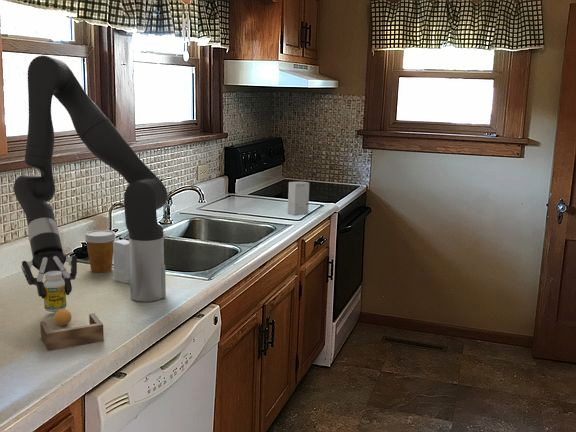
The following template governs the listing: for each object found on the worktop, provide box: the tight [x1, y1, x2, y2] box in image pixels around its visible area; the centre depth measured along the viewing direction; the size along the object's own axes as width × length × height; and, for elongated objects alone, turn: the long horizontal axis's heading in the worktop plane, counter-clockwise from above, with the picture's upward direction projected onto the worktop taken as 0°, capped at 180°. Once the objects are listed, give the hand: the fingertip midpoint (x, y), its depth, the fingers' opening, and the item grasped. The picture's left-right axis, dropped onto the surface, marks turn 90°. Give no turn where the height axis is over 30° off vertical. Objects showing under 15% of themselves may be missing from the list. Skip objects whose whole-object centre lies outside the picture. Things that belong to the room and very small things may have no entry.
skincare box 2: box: [287, 181, 310, 216], centre depth 296 cm, size 8×6×15 cm
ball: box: [53, 308, 72, 327], centre depth 156 cm, size 4×4×4 cm
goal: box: [39, 313, 105, 352], centre depth 148 cm, size 12×8×4 cm, turn 121°
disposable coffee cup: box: [83, 229, 117, 273], centre depth 201 cm, size 10×10×12 cm
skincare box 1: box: [113, 239, 130, 284], centre depth 191 cm, size 6×4×12 cm
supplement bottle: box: [43, 271, 67, 313], centre depth 163 cm, size 5×5×10 cm
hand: (56, 295), depth 161 cm, fingers closed on supplement bottle, 5 cm apart
